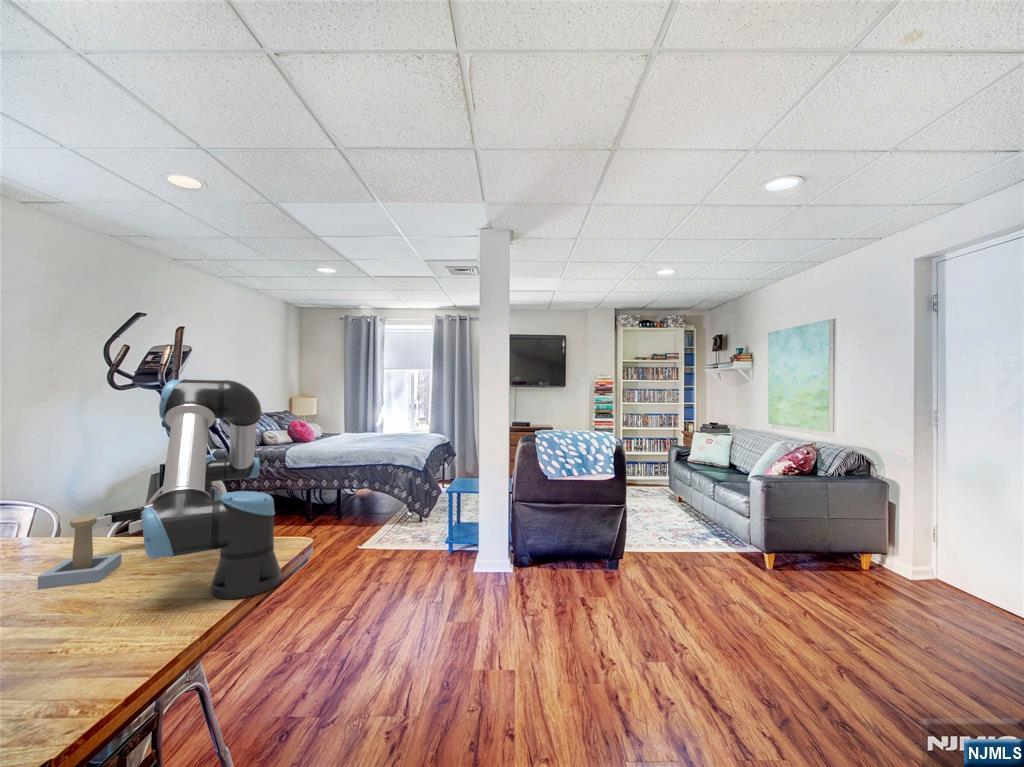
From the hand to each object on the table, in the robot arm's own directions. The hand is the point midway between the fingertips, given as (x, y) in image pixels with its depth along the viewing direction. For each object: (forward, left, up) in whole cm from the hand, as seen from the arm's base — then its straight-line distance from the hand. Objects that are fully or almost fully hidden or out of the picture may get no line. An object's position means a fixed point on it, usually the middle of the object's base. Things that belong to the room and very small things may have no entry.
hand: (108, 527), depth 123 cm
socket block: (-6, +3, -11) cm, 13 cm away
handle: (-6, +3, -11) cm, 13 cm away
